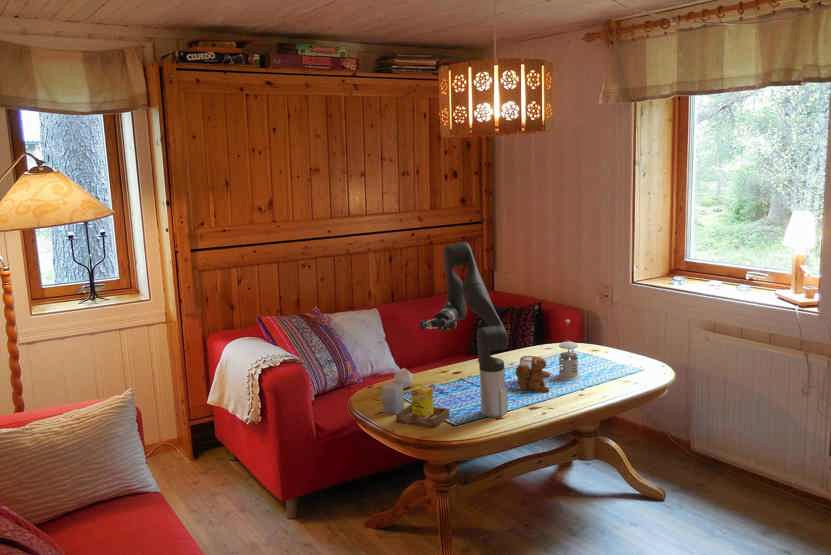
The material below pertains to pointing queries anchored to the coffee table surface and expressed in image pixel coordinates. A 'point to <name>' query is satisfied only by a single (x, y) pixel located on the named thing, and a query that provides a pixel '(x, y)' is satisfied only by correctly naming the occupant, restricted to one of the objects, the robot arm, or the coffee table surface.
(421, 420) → the walnut tray
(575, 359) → the french press
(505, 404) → the robot arm
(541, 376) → the stuffed squirrel
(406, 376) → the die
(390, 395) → the grey tin box
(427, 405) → the supplement box
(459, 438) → the coffee table surface
